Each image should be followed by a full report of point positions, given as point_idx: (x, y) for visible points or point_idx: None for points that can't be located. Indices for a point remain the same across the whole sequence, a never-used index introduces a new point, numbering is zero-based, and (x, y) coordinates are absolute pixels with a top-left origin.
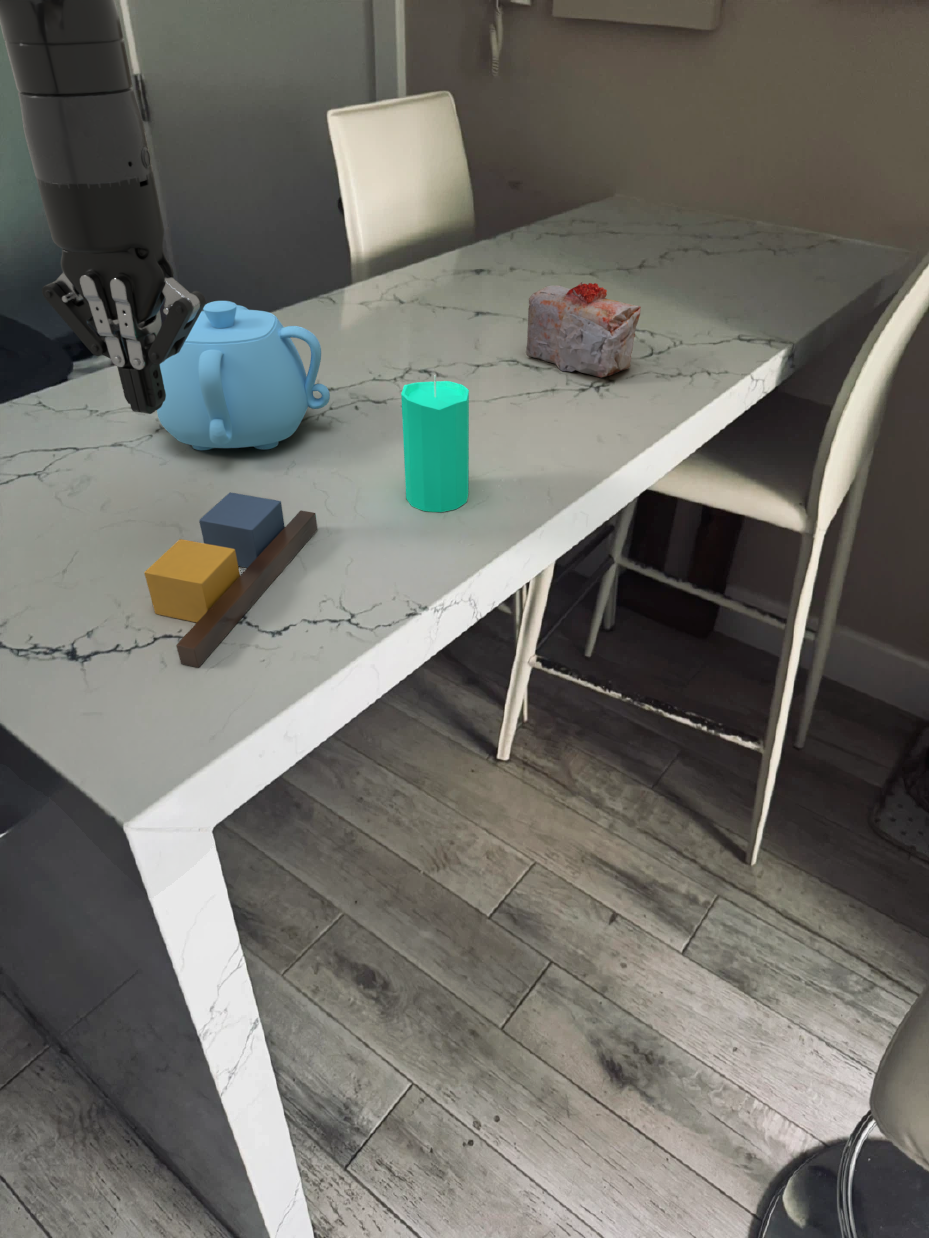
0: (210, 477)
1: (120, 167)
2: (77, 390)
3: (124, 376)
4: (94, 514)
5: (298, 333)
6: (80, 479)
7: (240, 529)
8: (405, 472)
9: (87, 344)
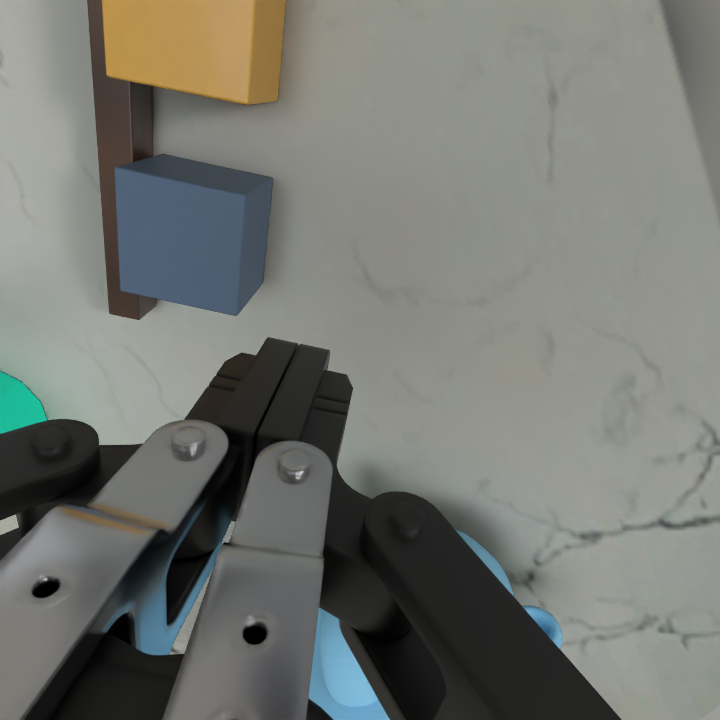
0: (383, 447)
1: None
2: (716, 685)
3: (299, 417)
4: (559, 318)
5: None
6: (626, 431)
7: (144, 171)
8: (2, 428)
9: (448, 542)
